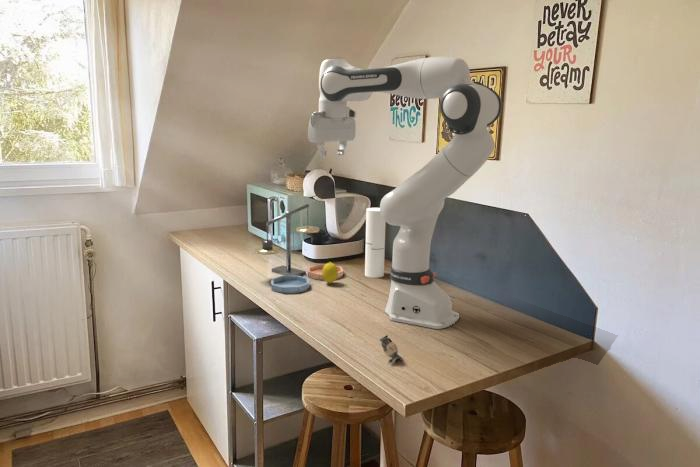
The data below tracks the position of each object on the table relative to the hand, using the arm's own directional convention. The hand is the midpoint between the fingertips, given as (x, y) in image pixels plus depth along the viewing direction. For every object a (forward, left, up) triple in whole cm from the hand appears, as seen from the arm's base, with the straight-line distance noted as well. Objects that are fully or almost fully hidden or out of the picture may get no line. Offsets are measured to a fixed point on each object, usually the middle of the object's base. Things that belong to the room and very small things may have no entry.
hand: (332, 155), depth 176 cm
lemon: (+5, -6, -46) cm, 47 cm away
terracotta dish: (+13, -13, -46) cm, 49 cm away
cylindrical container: (-1, -25, -46) cm, 52 cm away
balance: (+25, -6, -46) cm, 52 cm away
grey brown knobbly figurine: (-44, +31, -46) cm, 71 cm away
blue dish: (+13, +6, -46) cm, 48 cm away
